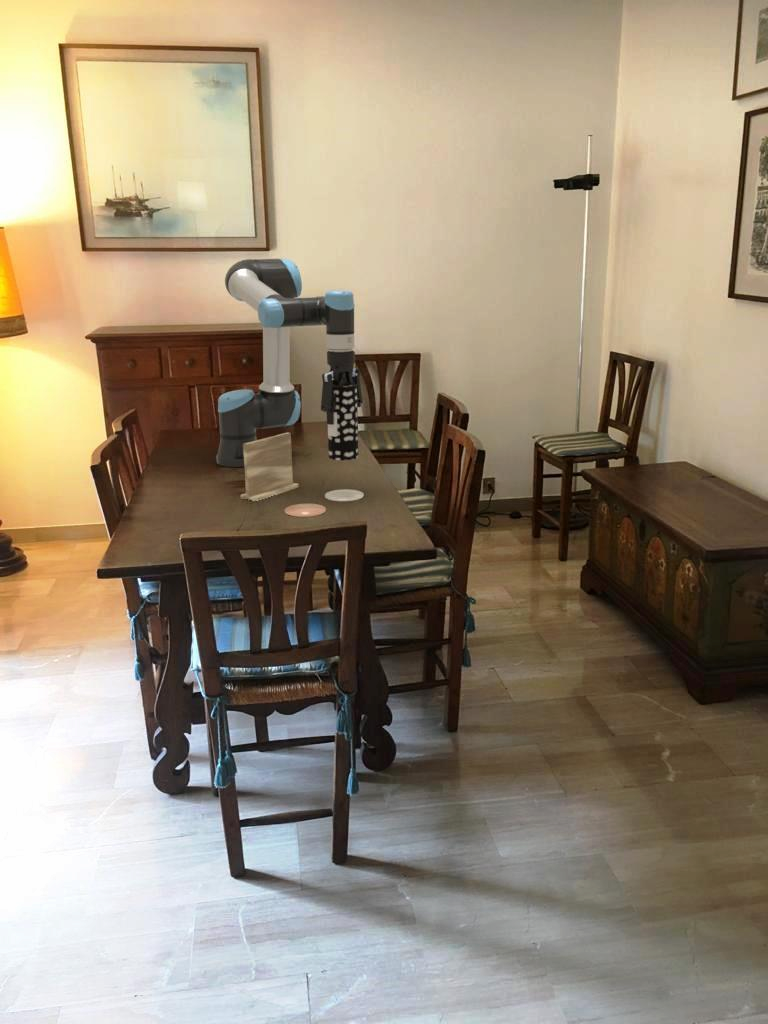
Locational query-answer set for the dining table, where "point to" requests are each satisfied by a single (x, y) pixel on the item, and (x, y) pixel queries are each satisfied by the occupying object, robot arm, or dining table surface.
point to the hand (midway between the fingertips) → (342, 432)
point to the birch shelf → (268, 467)
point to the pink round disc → (305, 510)
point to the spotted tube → (345, 424)
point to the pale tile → (344, 495)
